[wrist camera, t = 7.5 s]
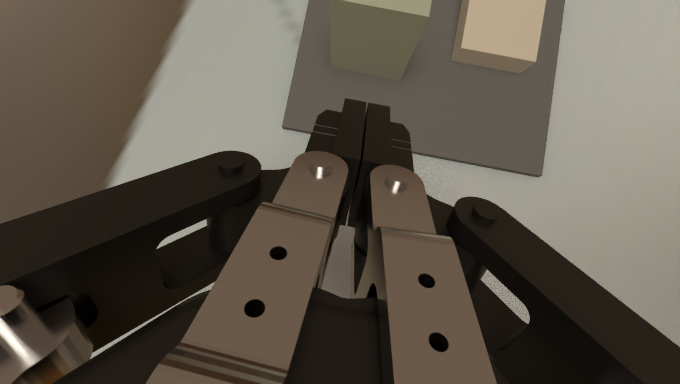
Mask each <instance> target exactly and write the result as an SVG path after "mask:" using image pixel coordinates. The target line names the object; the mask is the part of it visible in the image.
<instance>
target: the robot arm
mask: <svg viewBox="0 0 680 384" xmlns="http://www.w3.org/2000/svg"><path fill="white" fill-rule="evenodd" d="M366 103H367V102H364V101H359V100H354V99H349V98H345V100H344V105H343V109H342V112H338V111H332V110H325V111H324V112H322V113H321V114H319V115H318V116H317V119H316V122H315V125H314V128H313V131H312V133H311V136H310V139H309V142H308V145H307V148H306V151H305V153H303V154H301V155H299V156H298V157H297V158H296V159H295V160H294V162H293V164H292V166H291V167H290V168H286V169H280V170H261V164H260V162H259V161H258V160H257V159H256V158H255V157H253V156H252V155H250V154H247V153H244V152H239V151H223V152H218V153H214V154H211V155H208V156H205V157H202V158H199V159H196V160H193V161H190V162H187V163H184V164H181V165H178V166H175V167H172V168H169V169H166V170H163V171H160V172H157V173H154V174H151V175H148V176H145V177H141V178H138V179H135V180H132V181H129V182H126V183H123V184H120V185H117V186H114V187H111V188H108V189H105V190H102V191H99V192H96V193H93V194H90V195H87V196H84V197H81V198H78V199H75V200H72V201H69V202H66V203H63V204H60V205H57V206H54V207H51V208H47V209H44V210H42V211H38V212H35V213H32V214H29V215H26V216H23V217H20V218H17V219H14V220H11V221H8V222H5V223H2V224H0V384H680V347H679V346H677V345H676V344H675V343H673V342H672V341H671V340H670V339H668V338H667V337H666V336H665V335H663V334H662V333H661V332H659V331H658V330H657V329H656V328H654V327H653V326H652V325H650V324H649V323H648V322H647V321H645V320H644V319H643V318H641V317H640V316H639V315H638V314H636V313H635V312H634V311H632V310H631V309H630V308H629V307H627V306H626V305H625V304H624V303H622V302H621V301H620V300H618V299H617V298H616V297H615V296H613V295H612V294H611V293H609V292H608V291H607V290H606V289H604V288H603V287H602V286H600V285H599V284H598V283H597V282H595V281H594V280H593V279H591V278H590V277H589V276H588V275H586V274H585V273H584V272H583V271H581V270H580V269H579V268H577V267H576V266H575V265H574V264H572V263H571V262H570V261H568V260H567V259H566V258H565V257H563V256H562V255H561V254H559V253H558V252H557V251H556V250H554V249H553V248H552V247H550V246H549V245H548V244H547V243H545V242H544V241H543V240H542V239H540V238H539V237H538V236H536V235H535V234H534V233H533V232H531V231H530V230H529V229H527V228H526V227H525V226H524V225H522V224H521V223H520V222H518V221H517V220H516V219H515V218H513V217H512V216H511V215H509V214H508V213H507V212H506V211H504V210H503V209H502V208H500V207H499V206H498V205H496V204H494V203H492V202H490V201H488V200H485V199H482V198H478V197H464V198H461V199H459V200H458V201H457V202H456V204H455V206H454V207H453V206H450V205H448V204H445V203H443V202H440V201H438V200H436V199H434V198H432V197H430V196H429V195H427V194H426V191H425V187H424V184H423V181H422V180H421V178H420V177H419V176H418V175H416V174H415V173H414V167H413V158H412V151H411V139H410V132H409V131H408V130H407V129H406V127H405V126H404V125H403V124H400V123H395V122H390V106H385V105H380V104H375V103H370V102H368V105H367V109H366ZM365 112H366V114H365ZM349 206H350V209H349ZM348 211H349V217H348V225H347V226H350V227H355V235H354V239H353V243H352V246H351V299H346V298H341V297H339V296H336V295H334V294H332V293H329V292H327V291H325V290H322V289H321V288H322V284H323V280H324V276H325V273H326V269H327V265H328V262H329V258H330V254H331V251H332V247H333V242H334V239H335V238H336V237H337V234H338V230H339V226H340V225H344V226H345V224H346V219H347V215H348ZM205 219H207V226H206V227H203V228H201V229H199V230H197V231H195V232H193V233H190V234H188V235H186V236H184V237H182V238H180V239H178V240H175V241H173V242H171V243H169V244H167V245H165V246H163V247H160V248H158V249H156V248H157V247H158V245H159V244H160V242H161V241H162V240H164V239H165V238H166V237H168V236H170V235H172V234H174V233H176V232H178V231H180V230H183V229H185V228H187V227H189V226H192V225H194V224H196V223H198V222H200V221H203V220H205ZM487 269H488V270H489V271H490V272H491V273H492V274H493V275H494V276H495V277H496V278H497V279H498V280H499V281H500V282H501V283H502V284H503V285H505V286H506V287H507V288H508V289H509V290H510V291H511V292H512V293H513V294H514V295H515V296H516V297H517V298H518V299H519V300H520V301H521V302H522V303H523V304H524V305H525V306H526V308H527V310H528V312H529V315H530V322H529V324H527V323H525V322H524V321H522V320H521V319H520V318H519V317H518V316H517V315H516V314H515V313H514V312H513V311H512V310H511V309H510V308H509V307H508V306H507V305H506V304H505V303H504V302H503V301H502V300H501V299H500V298H499V297H498V296H497V295H495V294H494V293H493V292H492V291H491V290H490V289H489V288H488V287H487V286H486V285H485V284H484V283H483V282H482V281H481V280H480V279H481V278H482V276H483V275H484V273H485V272H486V270H487ZM215 281H216V282H215ZM213 282H215V283H214V285H213V287H212V289H211V290H208V291H205V292H203V293H200V294H198V295H195V296H193V297H191V298H189V299H187V300H185V301H184V302H182V303H180V304H178V305H177V306H175V307H174V308H172V309H170V310H169V311H167V312H166V313H164V314H162V315H161V316H159V317H158V318H156V319H154V320H153V321H151V322H150V323H148V324H146V325H145V326H143V327H142V328H140V329H138V330H137V331H135V332H134V333H132V334H130V335H129V336H127V337H126V338H124V339H122V340H121V341H119V342H117V343H116V344H114V345H113V346H111V347H109V348H108V349H106V350H105V351H103V352H101V353H100V354H98V355H97V356H95V357H93V358H92V359H90V358H91V355H92V353H93V352H95V351H96V350H98V349H100V348H101V347H103V346H105V345H107V344H108V343H110V342H112V341H113V340H115V339H117V338H119V337H120V336H122V335H124V334H126V333H127V332H129V331H131V330H132V329H134V328H136V327H138V326H139V325H141V324H143V323H144V322H146V321H148V320H150V319H151V318H153V317H155V316H156V315H158V314H160V313H162V312H163V311H165V310H167V309H168V308H170V307H172V306H174V305H175V304H177V303H179V302H180V301H182V300H184V299H186V298H187V297H189V296H191V295H193V294H194V293H196V292H198V291H199V290H201V289H203V288H205V287H206V286H208V285H210V284H211V283H213Z"/></svg>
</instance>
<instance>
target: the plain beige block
mask: <svg viewBox="0 0 680 384" xmlns="http://www.w3.org/2000/svg"><path fill="white" fill-rule="evenodd" d="M545 5H546V0H462V3H461V8H460V14H459V19H458V25H457V31H456V36H455V42H454V47H453V53H452V59H451V61H455V62H460V63H466V64H471V65H476V66H481V67H487V68H492V69H497V70H503V71H508V72H513V73H518V74H520V73H522V72H523V71H524V70H526V69H527V68H528V67H530V66H531V65H533V64H534V63H535V62H536V59H537V53H538V47H539V41H540V35H541V29H542V23H543V17H544V11H545Z"/></svg>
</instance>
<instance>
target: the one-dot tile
mask: <svg viewBox="0 0 680 384" xmlns="http://www.w3.org/2000/svg"><path fill="white" fill-rule="evenodd" d="M431 2H432V0H329V13H330V58H331V68H335V69H340V70H346V71H351V72H356V73H361V74H367V75H372V76H377V77H382V78H388V79H393V80H398V81H400V80H401V78H402V75H403V73H404V71H405V69H406V67H407V64H408V62H409V60H410V58H411V56H412V53H413V51H414V49H415V47H416V44H417V42H418V40H419V38H420V36H421V33H422V31H423V29H424V27H425V25H426V22H427V20H428V18H429V14H430V8H431Z"/></svg>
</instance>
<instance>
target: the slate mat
mask: <svg viewBox="0 0 680 384" xmlns="http://www.w3.org/2000/svg"><path fill="white" fill-rule="evenodd" d="M461 3H462V0H432V2H431V8H430V14H429V18H428V20H427V22H426V25H425V27H424V29H423V31H422V33H421V36H420V38H419V40H418V42H417V44H416V47H415V49H414V51H413V53H412V56H411V58H410V60H409V62H408V64H407V67H406V69H405V71H404V73H403V75H402V78H401V80H400V81H398V80H393V79H388V78H382V77H377V76H372V75H367V74H361V73H356V72H351V71H346V70H340V69H335V68H331V58H330V13H329V0H309V3H308V7H307V12H306V17H305V21H304V26H303V31H302V36H301V40H300V45H299V50H298V54H297V59H296V64H295V68H294V73H293V78H292V83H291V87H290V92H289V97H288V101H287V106H286V111H285V115H284V120H283V125H282V127H283V129H289V130H294V131H299V132H304V133H310V134H311V133H312V131H313V128H314V125H315V122H316V119H317V116H318V115H319V114H321V113H322V112H324V111H325V110H332V111H338V112H342V109H343V105H344V100H345V98H349V99H354V100H359V101H364V102H367V103H366V109H367V105H368V102H370V103H375V104H380V105H385V106H390V122H395V123H400V124H403V125H404V126H405V127H406V129H407V130H408V131H409V132H410V139H411V151H412V153H415V154H420V155H425V156H430V157H436V158H441V159H446V160H451V161H457V162H462V163H467V164H472V165H478V166H483V167H488V168H493V169H499V170H504V171H509V172H514V173H520V174H525V175H530V176H535V177H539V176H542V171H543V164H544V156H545V148H546V141H547V133H548V125H549V118H550V110H551V103H552V95H553V87H554V80H555V72H556V65H557V57H558V49H559V42H560V34H561V26H562V19H563V11H564V4H565V0H546V5H545V11H544V17H543V23H542V29H541V35H540V41H539V47H538V53H537V59H536V62H535V63H534V64H533V65H531V66H530V67H528V68H527V69H526V70H524V71H523V72H522V73H520V74H518V73H513V72H508V71H503V70H497V69H492V68H487V67H481V66H476V65H471V64H466V63H460V62H455V61H451V59H452V53H453V47H454V42H455V36H456V31H457V25H458V19H459V14H460V8H461ZM365 114H366V112H365Z"/></svg>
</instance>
